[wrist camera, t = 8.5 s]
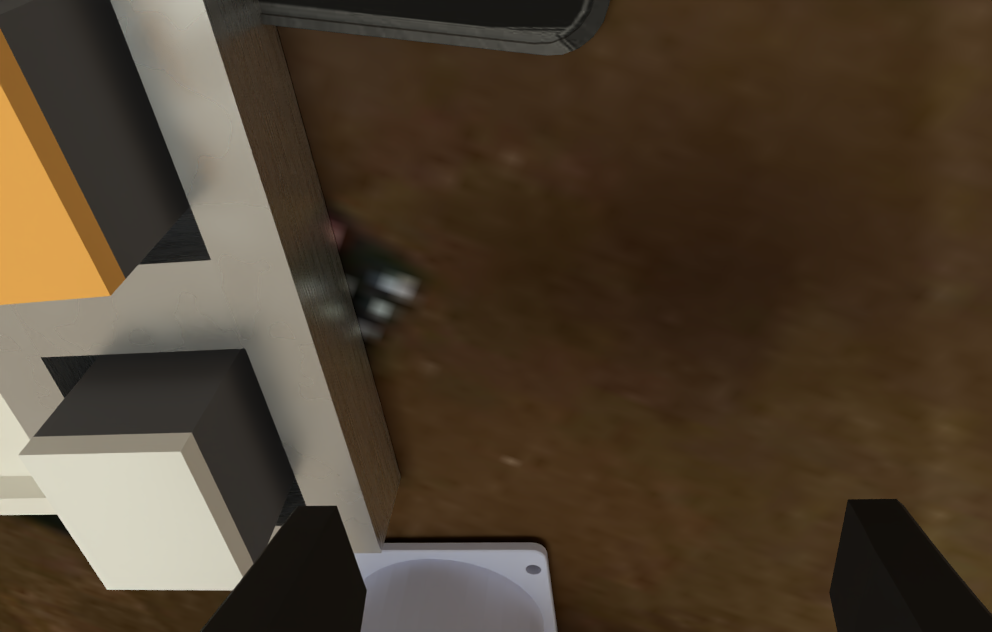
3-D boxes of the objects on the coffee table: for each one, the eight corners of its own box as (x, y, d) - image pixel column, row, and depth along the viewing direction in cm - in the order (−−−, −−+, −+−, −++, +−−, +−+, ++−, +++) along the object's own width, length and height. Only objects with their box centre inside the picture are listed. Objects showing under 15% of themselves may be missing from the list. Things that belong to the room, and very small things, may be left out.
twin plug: (306, 448, 24) (249, 590, 20) (186, 451, 25) (107, 589, 21) (259, 317, 21) (180, 451, 17) (125, 323, 22) (17, 455, 18)
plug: (214, 179, 19) (110, 295, 15) (67, 195, 20) (-72, 310, 15) (128, -41, 16) (-30, 27, 12) (-40, -14, 17) (-245, 59, 13)
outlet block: (400, 477, 25) (381, 553, 23) (146, 481, 27) (103, 553, 24) (223, -165, 15) (153, -151, 13) (-175, -107, 16) (-306, -83, 14)
